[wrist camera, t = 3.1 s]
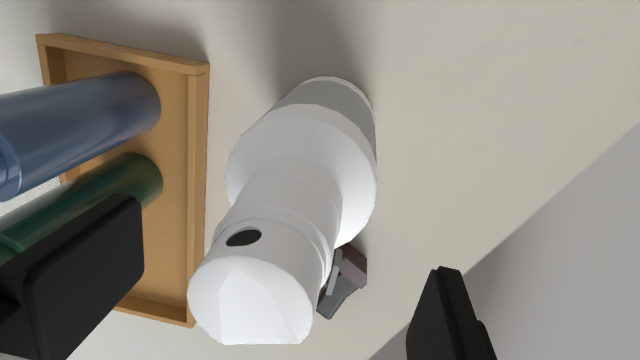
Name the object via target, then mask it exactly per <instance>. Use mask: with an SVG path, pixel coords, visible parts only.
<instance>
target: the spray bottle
mask: <svg viewBox="0 0 640 360" xmlns="http://www.w3.org/2000/svg"><path fill="white" fill-rule="evenodd" d="M225 181H226V188H227V196H228V199H229V202H230V204H231V206H232V207H231V208H230V210H229V211H228V212H227V214H226V215H225V216H224V218H223V219H222V221H221V222H220V224H219V225H218V226H217V228H216V229H215V232H214V237H213V242H212V247H211V249H210V251H209V252H208V253H207V255H206V256H205V258H204V259H203V261H202V262H201V263H200V265H199V266H198V268H197V269H196V271H195V272H194V273H193V275H192V276H191V278H190V280H189V285H188V290H187V299H188V304H189V308H190V311H191V313H192V315H193V316H194V318H195V320H196V321H197V323H198V325H199V326H200V327H201V328H202V329H203V330H204V331H205V332H206V333H207V334H208V335H210V336H211V337H212V338H213V339H215V340H216V341H218V342H220V343H221V344H224V345H234V344H286V343H290V344H300V343H301V342H302V341H303V339H304V338H305V337H306V336H307V335H308V334H309V331H310V329H311V327H312V324H313V322H314V318H315V313H316V308H317V302H318V297H319V292H320V289H321V287H322V286H323V285H324V284H325V283H326V281H327V278H328V276H329V274H330V271H331V267H332V261H333V255H334V249H336V248H338V247H339V246H341V245H343V244H345V243H347V242H349V241H351V240H352V239H353V238H354V237H355V236H356V235H357V234H358V233H359V232H360V231H361V230H362V229H363V227H364V226H365V225H366V224H367V222H368V220H369V217H370V215H371V213H372V211H373V208H374V206H375V204H376V193H377V162H376V137H375V118H374V115H373V111H372V107H371V104H370V103H369V101H368V100H367V98H366V97H365V95H364V94H363V92H362V91H361V90H359V89H358V88H357V87H356V86H354V85H353V84H352V83H350V82H349V81H346V80H343V79H340V78H337V77H328V76H318V77H315V78H312V79H309V80H306V81H304V82H302V83H301V84H300V85H298V86H297V87H296V88H294V89H293V90H292V91H291V92H290V93H288V94H287V95H286V96H285V97H284V98H283V99H282V100H280V101H279V102H278V103H277V104H276V105H275V106H274V107H273V108H271V109H270V110H269V111H268V112H267V113H266V114H265V115H264V116H262V117H261V118H260V119H259V120H258V121H257V122H256V123H255V124H253V125H252V126H251V127H250V128H249V129H248V130H247V131H245V132H244V133H243V134H242V135H241V137H240V139H239V140H238V142H237V143H236V145H235V146H234V148H233V150H232V151H231V153H230V156H229V160H228V165H227V170H226V175H225Z"/></svg>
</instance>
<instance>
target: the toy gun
mask: <svg viewBox="0 0 640 360" xmlns="http://www.w3.org/2000/svg"><path fill="white" fill-rule="evenodd" d="M366 285H367V259H366V258H365V257H364V256H363V255H362V254H360V253H359V252H358V251H357V250H356V249H354V248H353V247H352V246H351V245H350V244H348V243H345V244H343V245H341V246H339V247H338V248H336V249H334V255H333V261H332V267H331V271H330V274H329V276H328V278H327V281H326V283H325V284H324V285H323V286H322V287H321V289H320V292H319V297H318V302H317V308H316V311H317V312H318V313H320V314H321V315H322V316H323V317H325V318H326V319H331V318H332V316H333V315H334V314H335V312H336V311H337V310H338V308H339V307H340V305H341V304H342V303H343V301H344V300H345V298H346V297H347V296H349V295H350V294H351V293H353V292H354V291H355V290H357V289H358V288H360V289H362V288H363V287H364V286H366Z"/></svg>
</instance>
